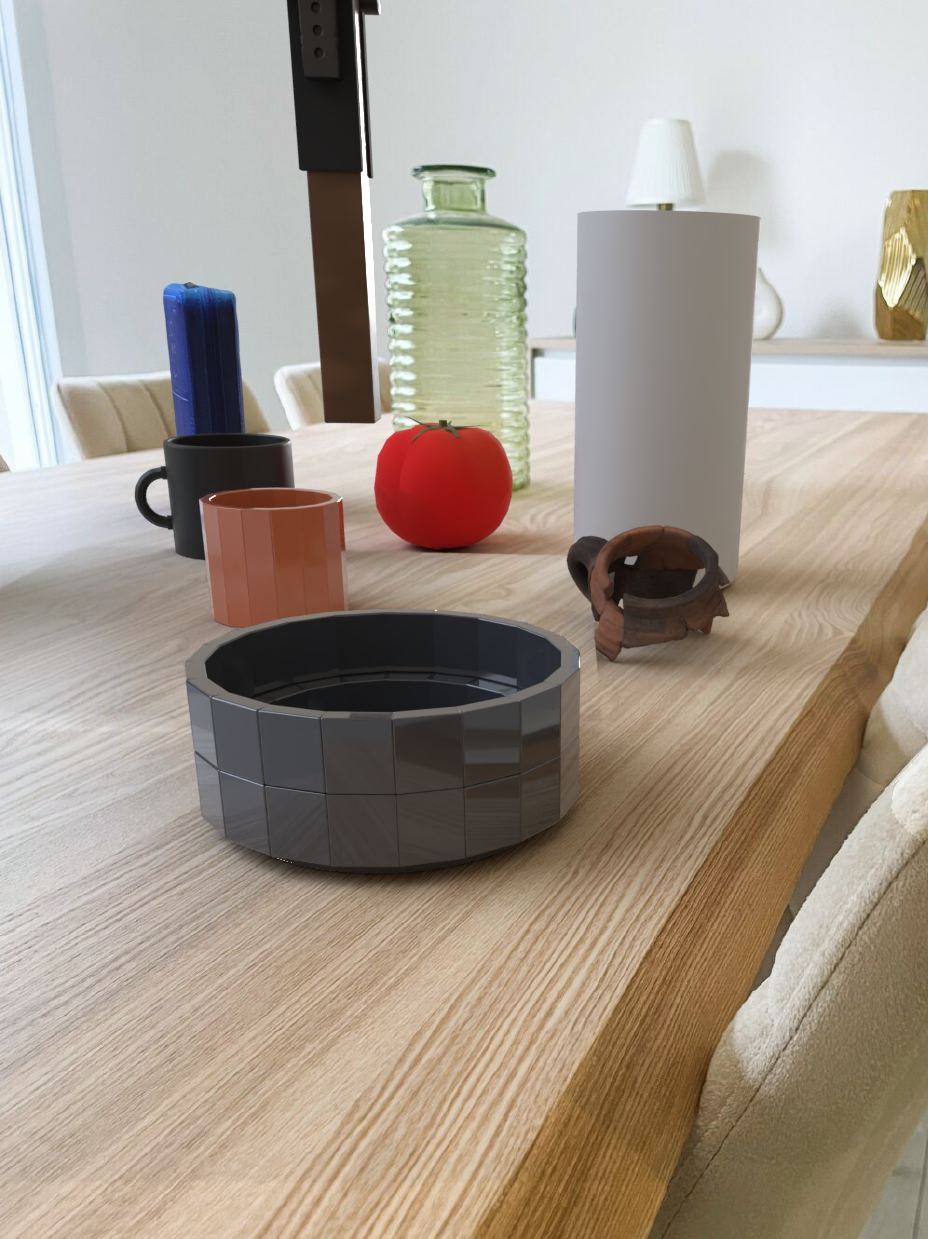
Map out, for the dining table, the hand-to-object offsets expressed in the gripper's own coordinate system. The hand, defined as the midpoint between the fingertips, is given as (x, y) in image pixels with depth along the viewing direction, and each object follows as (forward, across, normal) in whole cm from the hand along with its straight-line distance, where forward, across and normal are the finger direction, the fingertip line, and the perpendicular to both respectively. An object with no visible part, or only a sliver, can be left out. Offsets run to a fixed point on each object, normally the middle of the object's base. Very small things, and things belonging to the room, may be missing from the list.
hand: (337, 173), depth 54 cm
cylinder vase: (+25, +30, -18) cm, 43 cm away
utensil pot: (+25, +15, +8) cm, 30 cm away
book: (+25, +56, +22) cm, 65 cm away
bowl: (+25, -14, -3) cm, 29 cm away
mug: (+25, +35, +16) cm, 46 cm away
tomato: (+25, +42, -1) cm, 49 cm away
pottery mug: (+25, +12, -15) cm, 32 cm away
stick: (+11, 0, 0) cm, 11 cm away
